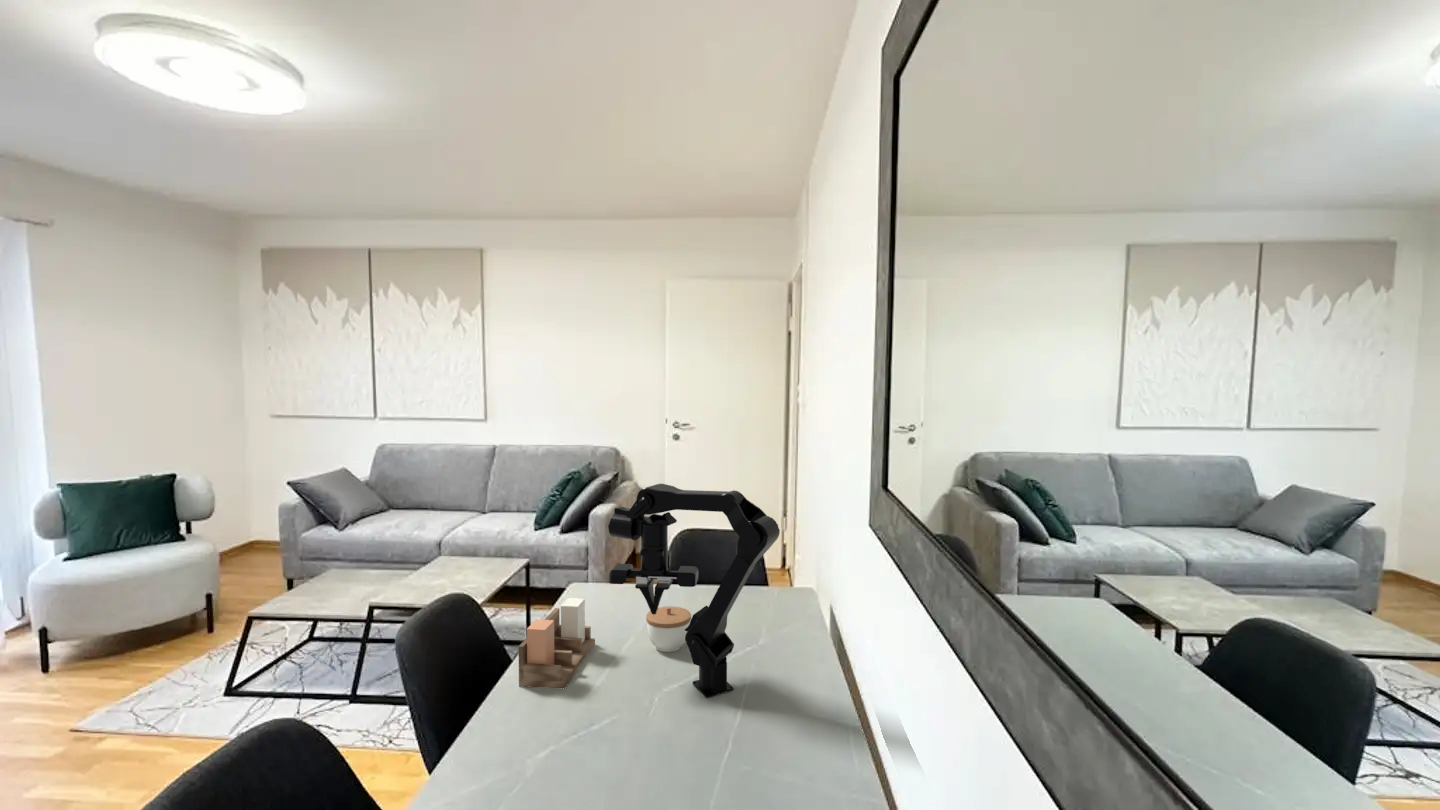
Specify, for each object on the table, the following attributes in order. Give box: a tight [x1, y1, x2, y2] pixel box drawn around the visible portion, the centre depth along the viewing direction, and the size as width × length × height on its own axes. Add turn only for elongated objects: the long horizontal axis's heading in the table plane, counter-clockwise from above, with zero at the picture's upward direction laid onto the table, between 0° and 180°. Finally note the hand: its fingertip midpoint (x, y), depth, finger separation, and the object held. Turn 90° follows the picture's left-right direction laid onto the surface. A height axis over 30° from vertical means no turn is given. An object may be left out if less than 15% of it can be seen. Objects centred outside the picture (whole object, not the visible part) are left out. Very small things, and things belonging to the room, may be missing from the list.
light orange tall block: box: [526, 618, 554, 665], centre depth 129 cm, size 4×5×10 cm
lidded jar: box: [645, 605, 692, 653], centre depth 144 cm, size 11×11×9 cm
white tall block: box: [560, 597, 586, 643], centre depth 141 cm, size 4×5×10 cm
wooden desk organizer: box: [518, 607, 596, 690], centre depth 135 cm, size 10×21×8 cm, turn 174°
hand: (654, 613), depth 131 cm, fingers closed
